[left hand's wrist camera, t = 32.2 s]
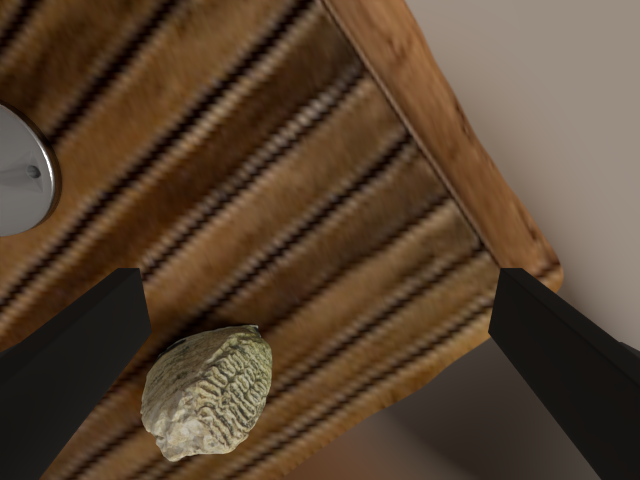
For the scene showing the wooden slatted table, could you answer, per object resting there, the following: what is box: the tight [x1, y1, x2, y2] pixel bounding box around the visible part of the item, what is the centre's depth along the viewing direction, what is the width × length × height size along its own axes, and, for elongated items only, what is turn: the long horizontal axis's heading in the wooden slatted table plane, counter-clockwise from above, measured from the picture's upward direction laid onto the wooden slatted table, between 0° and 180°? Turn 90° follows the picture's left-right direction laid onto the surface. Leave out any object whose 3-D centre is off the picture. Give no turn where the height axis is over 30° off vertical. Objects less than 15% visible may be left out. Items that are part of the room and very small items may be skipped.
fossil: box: [141, 325, 272, 461], centre depth 40 cm, size 9×18×15 cm, turn 124°
